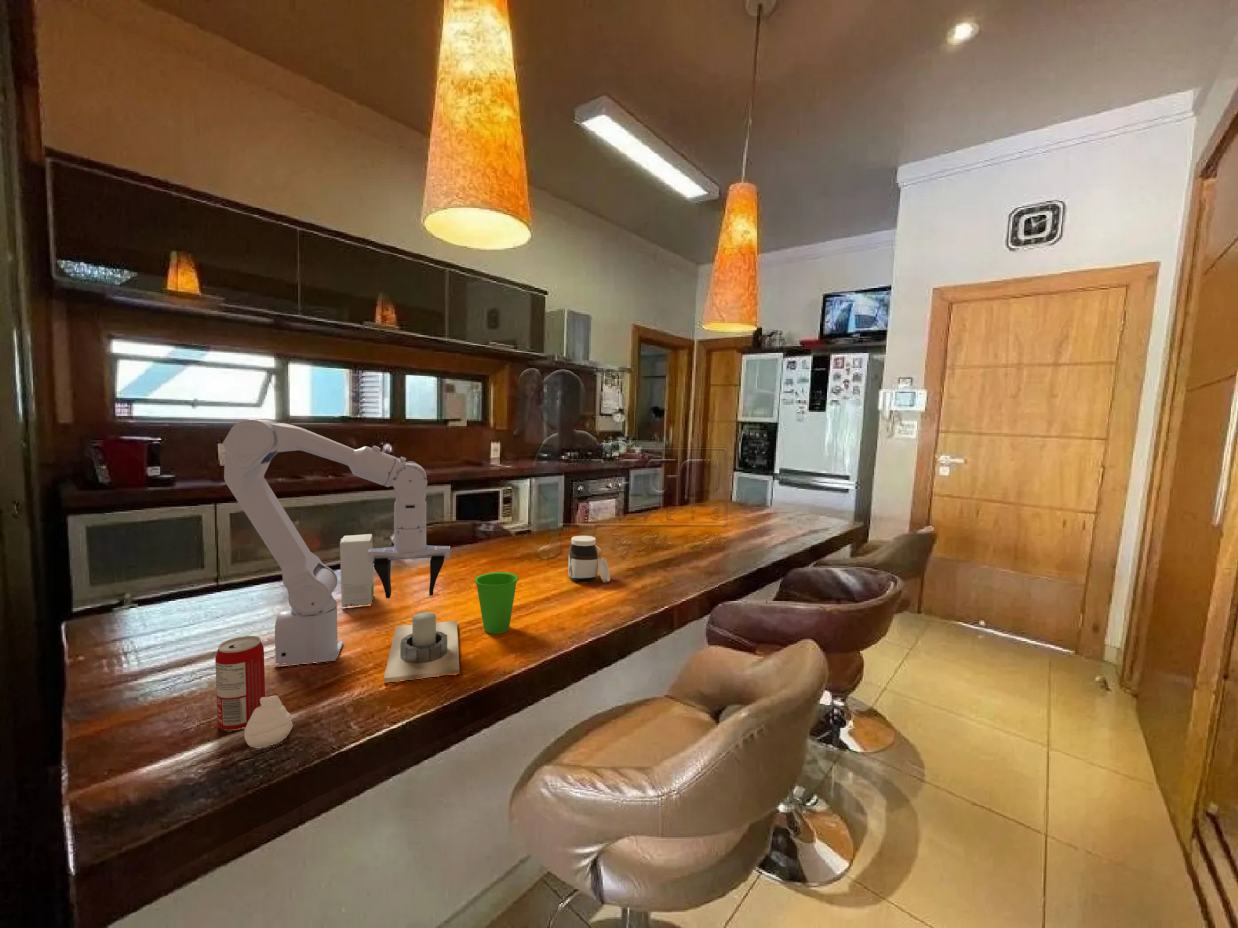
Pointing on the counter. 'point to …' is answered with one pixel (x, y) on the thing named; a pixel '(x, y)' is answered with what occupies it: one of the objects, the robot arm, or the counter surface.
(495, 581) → the cup
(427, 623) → the gray peg
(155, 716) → the counter surface
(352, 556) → the skincare box
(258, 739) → the garlic bulb
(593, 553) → the spread jar
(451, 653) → the peg holder
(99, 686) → the counter surface
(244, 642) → the soda can
